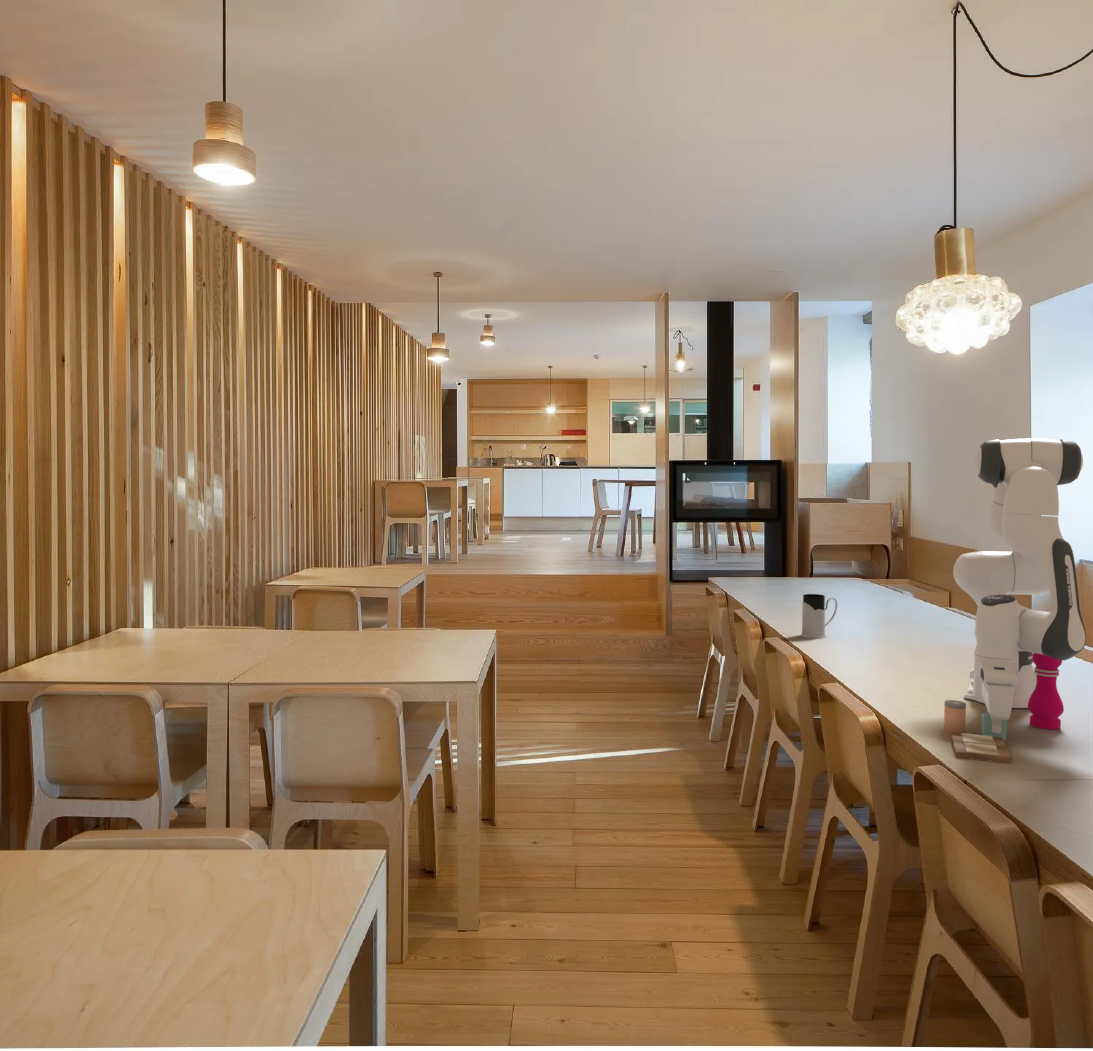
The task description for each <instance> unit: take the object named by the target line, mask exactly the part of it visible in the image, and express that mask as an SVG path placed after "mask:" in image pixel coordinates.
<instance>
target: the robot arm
mask: <svg viewBox="0 0 1093 1051" xmlns="http://www.w3.org/2000/svg"><path fill="white" fill-rule="evenodd" d="M1081 450H1082V449H1081V447H1080V446H1079V444H1077V442H1075V441H1072V440H1067V439H1058V440H1057V439H1051V438H1041V437H1039V438H1038V437H1036V438H1035V437H1030V438H1013V439H1012V438H1011V439H1001V440H1000V438H997V439H990V440H986V441H984V442H982V444H980V446H979V449H978V450H977V452H976V454H975V457H974V467H975V471H976V473H977V476H978V478H979V479H981V481H983V482H984V483H987V484H990V485H992V486H993V492H992V500H991V508H990V518H989V528H990V530H991V533H993V535H995V536H996V537H998V538H999V539H1001V540H1003V541H1005V543H1007V544H1008V546H1009V547H1010V548H1011V550H1008V551H1000V550H999V551H997V550H995V551H994V550H991V551H990V550H979V551H972V552H967V553H962V554H961V555H960V556H959V557H958V558H957V559H956V561H955V562H954V565H953V571H952V572H953V578H954V581H955V583H956V584H957V586H958V587H959V588H960V589H961V590H962V591H964V592H965V593H966V594H968V595H969V597H971V598H972V600H974V602H975V604H976V606H977V610H976V613H975V624H974V637H975V640H976V645H975V648H974V654H973V656H974V657H973V669H971V670H969V671H970V672H969V678H970V679H971V682H970V684H969V686H968V688H967V689H966V691H965V693H964V695H963V697H964V698H965V699H967V700H971V701H976V702H979V703H982V704H984V705H985V707H986V710H987V713H989V714H990V716H991V718H992V723H991V730H992V732H993V733H998V734H999V733H1001V725H1002V720H1007V721H1008V720H1010V717H1011V715H1012V714H1011V713H1012V709H1028V701H1029V698H1030V696H1031V695H1032V693H1033V691H1034V689H1035V687H1036V682H1037V677H1036V674H1035V673H1034V671H1035V669H1034V668H1035V667H1033V663H1034V662H1033V660H1032V656H1033V653H1037V654H1042V655H1045V656H1048V657H1051V658H1055V659H1058V660H1062V661H1067V660H1069V659H1071V658H1074V657H1075V656H1077V655H1078V654H1079V653H1080V652H1082V651H1083V649H1084V648H1085V645H1086V642H1087V633H1086V628H1085V623H1084V622H1083V617H1082V612H1081V605H1080V596H1079V587H1078V578H1077V577H1078V576H1077V570H1076V569H1077V568H1076V561H1075V556H1074V551H1073V547H1072V546H1071V545H1070V543H1069V542H1068V541H1066V540H1065V539H1064V537H1063V534H1062V533H1061V532H1062V531H1061V529H1060V524H1059V512H1060V511H1059V510H1060V505H1059V504H1060V502H1059V489H1058V486H1062V485H1069V484H1071V483H1073V482H1075V481H1076V480H1077V479H1078V478H1079V475H1080V474H1081V472H1082V469H1083V466H1084V465H1083V464H1084V457H1083V454H1082V451H1081ZM1045 594H1049V596H1050V605H1051V611H1045V610H1038V609H1034V608H1033V609H1032V608H1027V607H1025V606H1023V605H1021V604H1019V602H1018V600H1017V598H1016V597H1014V596H1012V595H1025V596H1026V595H1027V596H1028V595H1031V596H1032V595H1033V596H1038V595H1045Z"/></svg>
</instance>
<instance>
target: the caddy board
mask: <svg viewBox="0 0 1093 1051" xmlns="http://www.w3.org/2000/svg"><path fill="white" fill-rule="evenodd" d="M950 739H951V742H952V747H953V750H954V754H955V758H960V759H968V758H973V759H972V760H977V759H978V760H979V761H986V760H991V761H990V762H996V763H1006V764H1011V761H1012V760H1011V755H1010V753H1009V750H1008V748H1007V746H1006V743H1005V742H1004V740H1003V739H1002V737H992V736H985V735H982V734H973V733H966V732H965V733H952V732H951V734H950Z"/></svg>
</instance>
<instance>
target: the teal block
mask: <svg viewBox="0 0 1093 1051" xmlns="http://www.w3.org/2000/svg"><path fill="white" fill-rule="evenodd" d="M991 723H992V718H991V716H990V714H989V713H988V712H981V735H982V734H983V735H985V736H992V737H1002V739H1005V741H1006V740H1007V736H1008V735H1007V732H1008V731H1007V730H1008V720H1002V725H1001V733H999V734H998V733H993V732H992V730H991Z"/></svg>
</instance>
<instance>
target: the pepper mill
mask: <svg viewBox="0 0 1093 1051" xmlns="http://www.w3.org/2000/svg"><path fill="white" fill-rule="evenodd" d="M1032 660H1033V663H1034V665H1035V667H1033V668H1034V669H1035V671H1034V673H1035V674H1036V677H1037V682H1036V687H1035V689H1034V691H1033V693H1032V695H1031V696H1030V698H1029V701H1028V708H1027V709H1028V710H1029V712H1030V713H1031V715H1030V716H1029V725H1031V726H1032V727H1034V728H1038V729H1042V728H1043V729H1042V730H1059V729H1061V726H1062V725H1061V722H1062V720H1061V719H1060V718H1059V717H1060V716H1062V715H1063V713H1064V710H1065V709H1064V708H1065V707H1064V702H1063V700H1062V698H1061V696H1060V693H1059V692H1058V686H1057V679H1058V677H1059V676H1060V673H1059V672H1060V669H1059V667H1060V666H1061V665H1062V663H1063V660H1058V659H1055V658H1051V657H1048V656H1045V655H1042V654H1037V653H1033V656H1032Z"/></svg>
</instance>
